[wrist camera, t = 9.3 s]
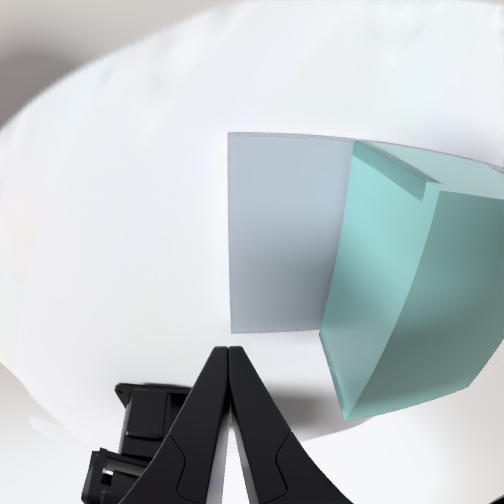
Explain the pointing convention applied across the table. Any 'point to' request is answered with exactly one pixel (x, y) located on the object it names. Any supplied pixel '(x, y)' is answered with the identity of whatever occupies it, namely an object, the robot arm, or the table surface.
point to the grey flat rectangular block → (286, 226)
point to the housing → (414, 279)
